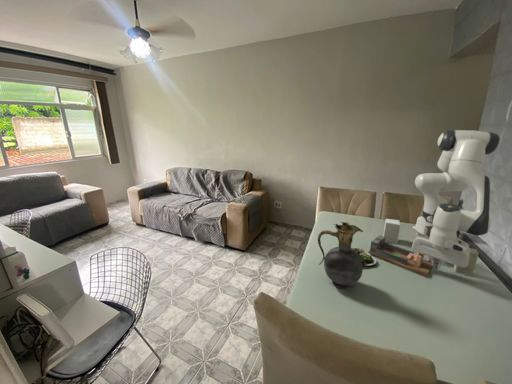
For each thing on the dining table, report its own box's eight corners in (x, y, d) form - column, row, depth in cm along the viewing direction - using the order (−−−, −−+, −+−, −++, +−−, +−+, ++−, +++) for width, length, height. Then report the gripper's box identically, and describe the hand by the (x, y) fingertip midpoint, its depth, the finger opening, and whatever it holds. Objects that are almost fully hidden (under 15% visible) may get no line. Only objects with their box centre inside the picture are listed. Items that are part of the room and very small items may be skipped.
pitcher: (360, 296, 88) (369, 230, 80) (313, 284, 96) (316, 222, 88) (360, 280, 98) (368, 219, 90) (317, 270, 106) (320, 213, 97)
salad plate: (331, 248, 125) (331, 241, 124) (361, 247, 125) (362, 240, 124) (345, 269, 106) (346, 261, 105) (381, 267, 107) (382, 259, 105)
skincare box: (470, 272, 101) (477, 249, 98) (472, 277, 98) (479, 253, 94) (452, 267, 105) (458, 245, 101) (454, 272, 101) (460, 249, 98)
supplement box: (397, 244, 127) (400, 224, 123) (382, 241, 130) (385, 222, 127) (396, 239, 133) (399, 220, 129) (382, 236, 136) (385, 218, 133)
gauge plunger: (409, 257, 111) (411, 248, 109) (422, 262, 107) (424, 252, 105) (404, 263, 106) (405, 254, 105) (417, 268, 102) (419, 258, 101)
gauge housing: (377, 245, 126) (379, 234, 124) (433, 266, 106) (436, 252, 104) (367, 254, 118) (369, 241, 116) (425, 277, 98) (429, 263, 96)
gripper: (412, 233, 102) (407, 259, 106) (471, 251, 87) (463, 280, 91) (416, 229, 106) (411, 254, 110) (474, 245, 91) (466, 273, 95)
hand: (435, 266), depth 100 cm, fingers closed
